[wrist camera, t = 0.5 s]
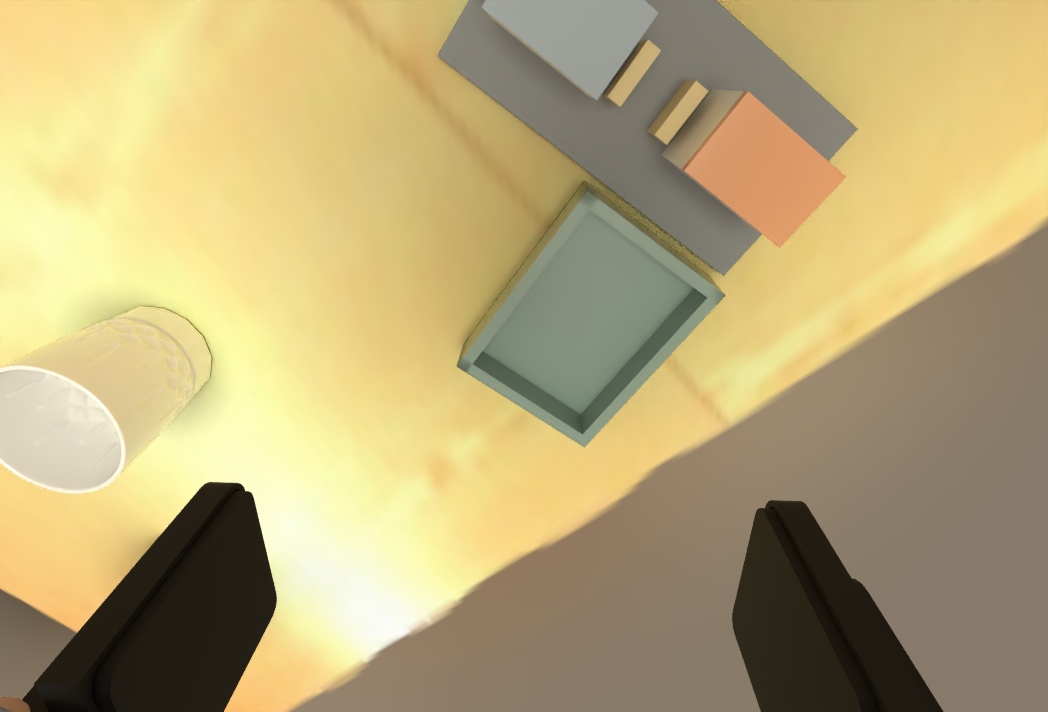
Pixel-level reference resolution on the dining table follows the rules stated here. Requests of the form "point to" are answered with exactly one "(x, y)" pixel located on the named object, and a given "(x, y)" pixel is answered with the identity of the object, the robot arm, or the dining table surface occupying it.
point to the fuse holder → (635, 95)
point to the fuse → (752, 163)
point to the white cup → (98, 398)
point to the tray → (587, 317)
